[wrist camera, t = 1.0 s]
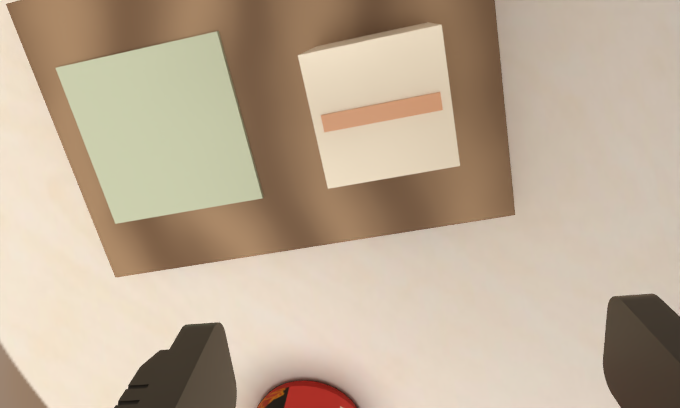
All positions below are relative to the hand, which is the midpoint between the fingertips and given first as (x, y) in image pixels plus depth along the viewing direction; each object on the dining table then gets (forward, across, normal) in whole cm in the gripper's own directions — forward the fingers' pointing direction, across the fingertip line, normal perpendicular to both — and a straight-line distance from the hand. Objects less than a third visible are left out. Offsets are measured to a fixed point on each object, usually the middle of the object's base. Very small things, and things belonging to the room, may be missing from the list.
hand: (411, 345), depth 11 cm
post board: (+19, +6, -2) cm, 20 cm away
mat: (+18, +12, -2) cm, 21 cm away
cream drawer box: (+17, 0, -3) cm, 18 cm away
